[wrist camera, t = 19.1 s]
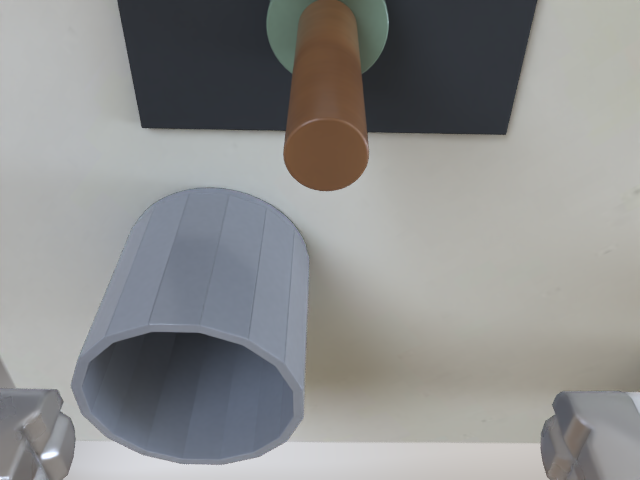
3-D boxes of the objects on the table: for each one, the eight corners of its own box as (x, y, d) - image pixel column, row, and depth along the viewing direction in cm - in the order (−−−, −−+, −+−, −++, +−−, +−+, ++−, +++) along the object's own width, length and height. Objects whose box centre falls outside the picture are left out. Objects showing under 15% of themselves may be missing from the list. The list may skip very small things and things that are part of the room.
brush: (271, 65, 28) (242, 225, 19) (267, -52, 25) (229, 69, 15) (380, 67, 28) (406, 229, 19) (390, -50, 25) (426, 73, 15)
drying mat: (143, 124, 30) (141, 128, 30) (89, -163, 23) (86, -162, 22) (504, 131, 30) (506, 135, 30) (570, -155, 23) (573, -153, 22)
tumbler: (145, 321, 39) (100, 462, 32) (112, 185, 33) (44, 322, 25) (309, 324, 39) (304, 466, 32) (309, 189, 33) (303, 326, 25)
